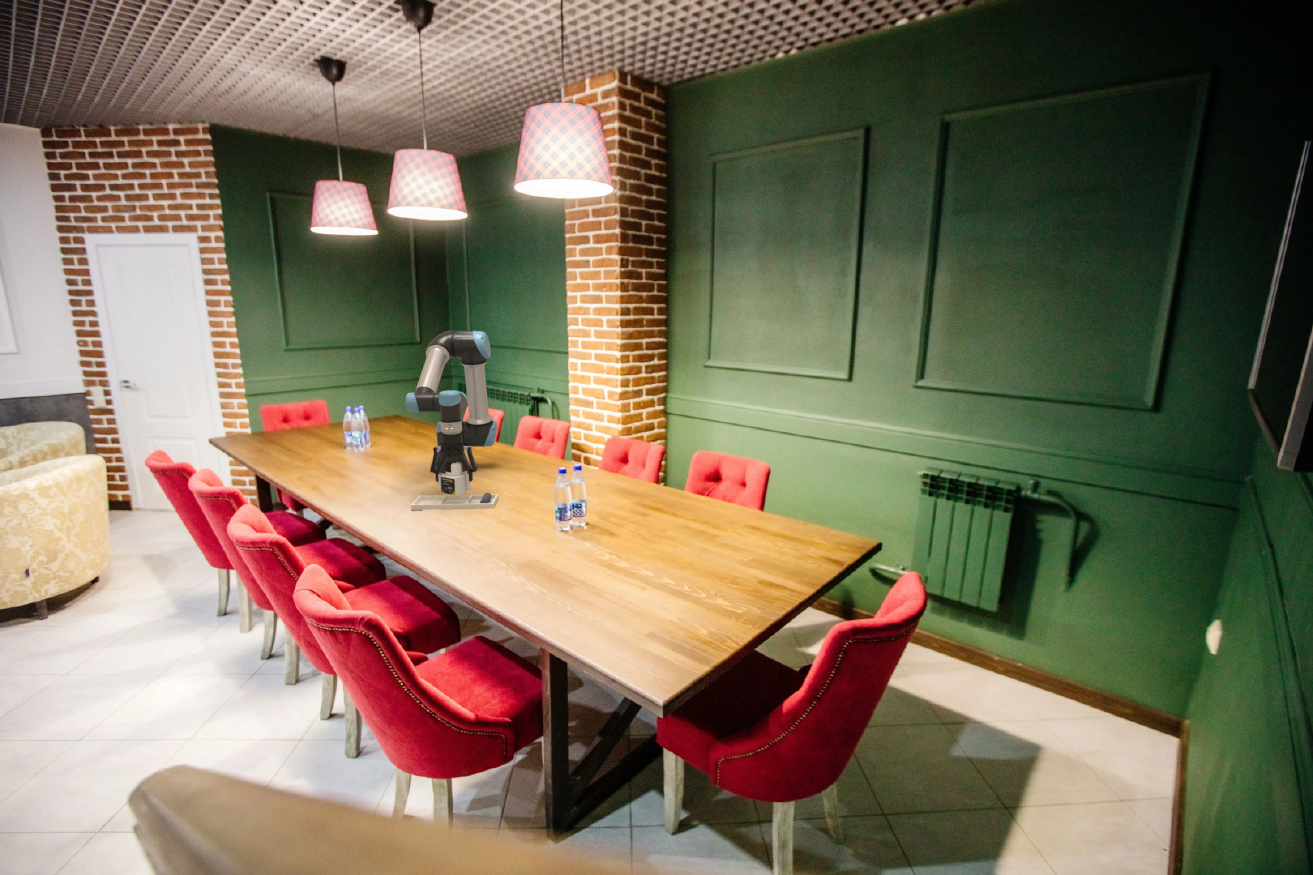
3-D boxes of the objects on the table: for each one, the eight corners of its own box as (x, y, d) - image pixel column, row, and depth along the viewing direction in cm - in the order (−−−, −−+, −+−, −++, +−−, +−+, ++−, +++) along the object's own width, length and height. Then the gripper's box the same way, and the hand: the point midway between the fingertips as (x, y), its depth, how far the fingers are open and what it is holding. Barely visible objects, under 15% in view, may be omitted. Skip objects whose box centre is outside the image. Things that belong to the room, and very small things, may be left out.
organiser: (419, 501, 247) (419, 495, 246) (498, 499, 250) (498, 494, 249) (411, 510, 235) (410, 505, 235) (493, 509, 238) (493, 503, 238)
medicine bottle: (441, 493, 240) (439, 462, 237) (455, 488, 246) (453, 458, 243) (455, 496, 237) (453, 465, 234) (468, 491, 243) (467, 461, 240)
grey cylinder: (482, 495, 247) (488, 491, 247) (486, 501, 247) (493, 497, 247) (478, 501, 239) (484, 497, 239) (483, 508, 240) (489, 504, 240)
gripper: (418, 434, 232) (422, 493, 236) (480, 434, 234) (483, 492, 238) (423, 430, 239) (427, 487, 244) (483, 430, 241) (486, 486, 246)
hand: (455, 489), depth 241 cm, fingers closed on medicine bottle, 10 cm apart
